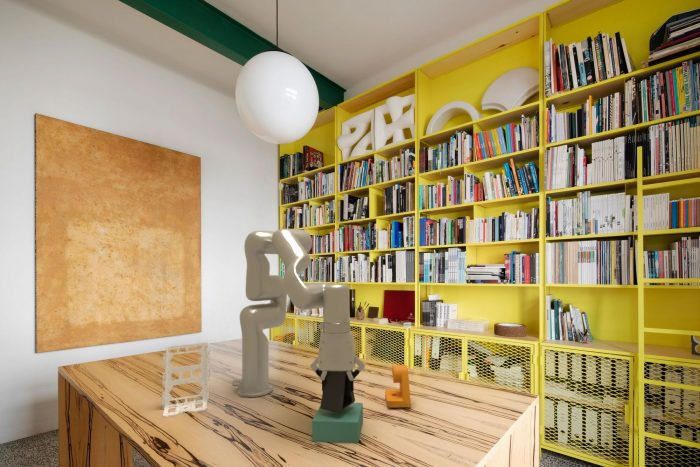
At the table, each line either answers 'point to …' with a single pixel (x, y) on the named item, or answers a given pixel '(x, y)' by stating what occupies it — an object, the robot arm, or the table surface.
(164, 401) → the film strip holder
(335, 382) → the phone stand
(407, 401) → the bracket
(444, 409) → the table surface
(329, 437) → the green block
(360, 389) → the table surface
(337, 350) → the robot arm
